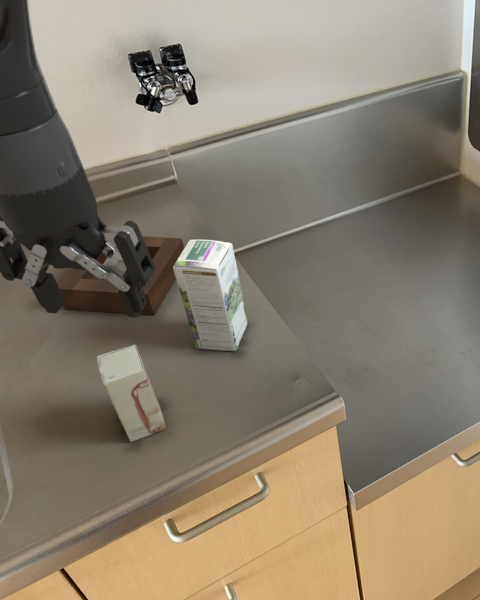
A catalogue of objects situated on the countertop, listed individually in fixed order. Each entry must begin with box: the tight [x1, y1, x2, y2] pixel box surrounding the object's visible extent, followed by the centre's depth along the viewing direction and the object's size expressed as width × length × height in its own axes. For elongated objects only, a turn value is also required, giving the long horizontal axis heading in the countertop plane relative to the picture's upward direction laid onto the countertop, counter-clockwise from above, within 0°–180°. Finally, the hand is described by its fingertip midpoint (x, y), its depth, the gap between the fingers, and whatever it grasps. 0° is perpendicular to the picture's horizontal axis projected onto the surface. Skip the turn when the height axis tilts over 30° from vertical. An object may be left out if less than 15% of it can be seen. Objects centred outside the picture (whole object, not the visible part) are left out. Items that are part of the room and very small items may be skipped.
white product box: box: [96, 344, 167, 443], centre depth 70 cm, size 5×4×10 cm
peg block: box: [57, 235, 185, 316], centre depth 92 cm, size 14×14×4 cm
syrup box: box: [173, 239, 249, 352], centre depth 80 cm, size 6×6×14 cm
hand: (96, 310), depth 62 cm, fingers open, 8 cm apart
